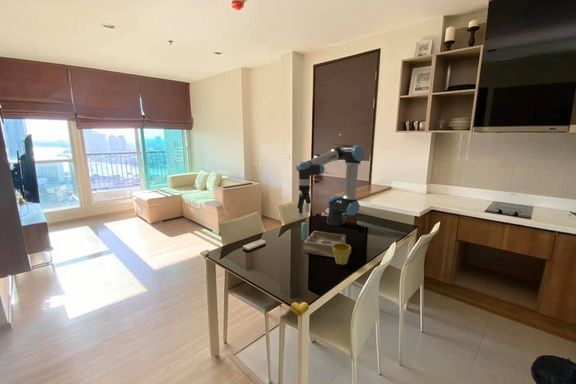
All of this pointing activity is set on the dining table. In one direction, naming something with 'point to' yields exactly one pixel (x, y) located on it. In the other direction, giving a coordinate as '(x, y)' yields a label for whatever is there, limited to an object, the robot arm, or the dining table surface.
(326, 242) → the box
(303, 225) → the peg
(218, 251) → the dining table surface
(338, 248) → the plant pot
